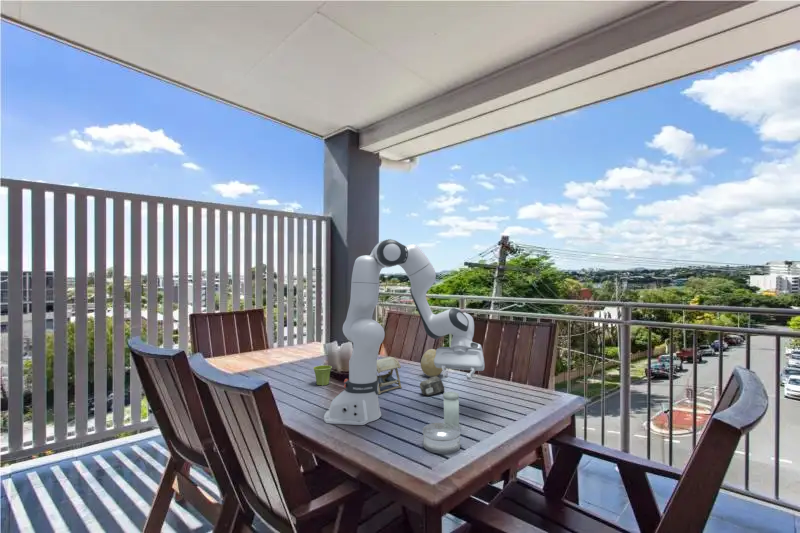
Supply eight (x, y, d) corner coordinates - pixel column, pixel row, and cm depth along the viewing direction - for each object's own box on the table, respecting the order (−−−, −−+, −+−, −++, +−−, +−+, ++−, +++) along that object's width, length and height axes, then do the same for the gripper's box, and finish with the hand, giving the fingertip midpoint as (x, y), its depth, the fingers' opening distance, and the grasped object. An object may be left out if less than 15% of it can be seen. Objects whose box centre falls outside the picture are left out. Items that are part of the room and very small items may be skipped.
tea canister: (445, 430, 134) (444, 396, 134) (442, 424, 139) (442, 391, 140) (460, 430, 134) (460, 396, 134) (457, 423, 139) (457, 391, 140)
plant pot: (311, 383, 195) (311, 366, 195) (329, 380, 199) (329, 364, 199) (315, 387, 186) (315, 370, 187) (334, 385, 190) (333, 368, 191)
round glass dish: (424, 455, 116) (424, 439, 116) (421, 437, 128) (421, 423, 129) (464, 454, 116) (464, 437, 117) (457, 436, 129) (456, 422, 129)
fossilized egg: (432, 372, 213) (432, 345, 214) (449, 376, 204) (448, 349, 204) (416, 376, 205) (415, 348, 206) (432, 381, 196) (431, 352, 196)
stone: (435, 406, 169) (425, 387, 168) (424, 405, 175) (414, 387, 173) (452, 386, 179) (443, 368, 177) (441, 386, 184) (431, 368, 183)
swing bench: (379, 395, 174) (379, 363, 174) (366, 390, 181) (366, 360, 181) (402, 388, 184) (401, 358, 185) (389, 384, 191) (388, 355, 191)
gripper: (435, 342, 158) (429, 371, 148) (484, 345, 151) (481, 375, 141) (438, 350, 162) (432, 379, 152) (486, 353, 155) (483, 384, 145)
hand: (456, 377), depth 147 cm, fingers open, 8 cm apart
